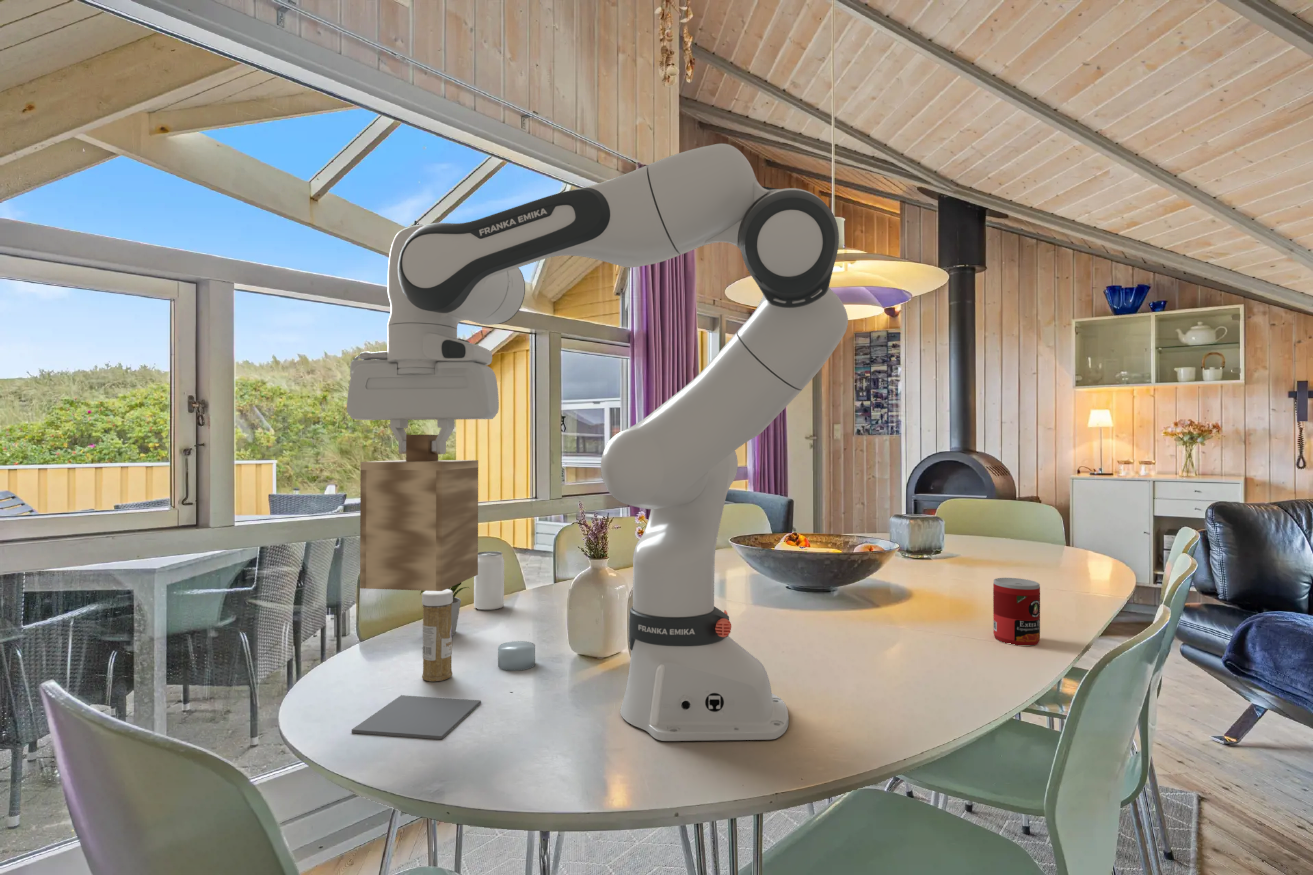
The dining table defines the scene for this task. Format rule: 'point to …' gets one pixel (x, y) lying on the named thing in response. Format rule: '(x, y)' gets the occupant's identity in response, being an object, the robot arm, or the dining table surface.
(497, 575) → the can
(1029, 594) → the canned food
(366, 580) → the oak cover
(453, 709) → the felt mat
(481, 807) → the dining table surface
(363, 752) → the dining table surface
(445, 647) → the sprinkles bottle
